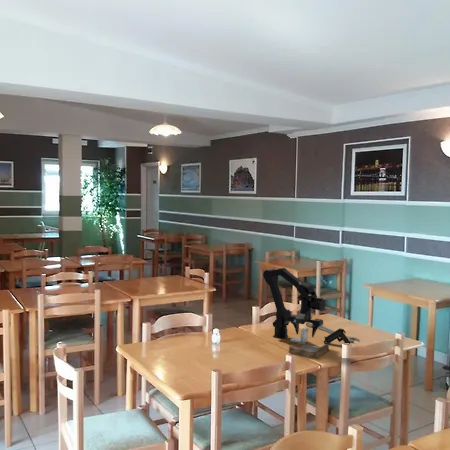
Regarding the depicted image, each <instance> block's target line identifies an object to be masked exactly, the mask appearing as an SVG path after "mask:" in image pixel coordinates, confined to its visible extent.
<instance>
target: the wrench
mask: <svg viewBox="0 0 450 450" xmlns="http://www.w3.org/2000/svg"><path fill="white" fill-rule="evenodd" d="M305 325H306V326H307V327H308V328H312V326H313V324H312V323H308V322H305ZM317 330H321V331H324V332H326V333H328V334H329V335H330V334H332V333H333V332H335V331H336V330H333V329H330V328H328V327H326V326H324V325H321V326H320V327H318V329H317ZM345 336H346V337H347V338H348V340H349V341H350V344H351V343H352V344H354V342H355V341H356V342H360V338H358V337H355V336H349V335H345Z"/></svg>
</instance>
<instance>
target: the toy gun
mask: <svg viewBox="0 0 450 450" xmlns="http://www.w3.org/2000/svg"><path fill="white" fill-rule="evenodd" d="M334 331H335V332H333V333H332V334H330V333H329V335H327V336H324V340H323V343H324V344H330V343H332V342H333V341H335V340H337V342H338V343H340V342H342V341H343V342H344V344H345V343H349V344H348V345H350V344H351V343H350V341H349V340H348V338H347V337H346V336H347V335H346V333H347V332H346V330H345V329H344V328H338V329H336V330H334Z"/></svg>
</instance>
